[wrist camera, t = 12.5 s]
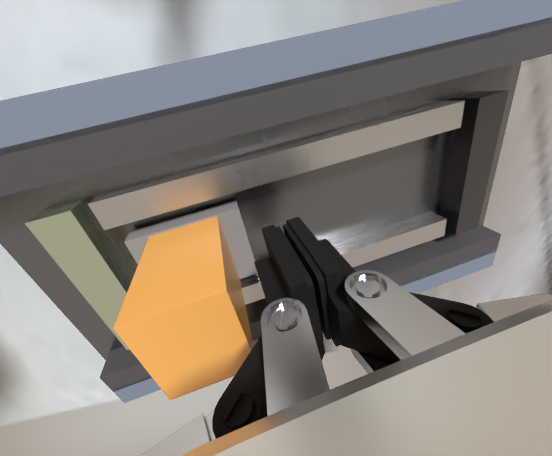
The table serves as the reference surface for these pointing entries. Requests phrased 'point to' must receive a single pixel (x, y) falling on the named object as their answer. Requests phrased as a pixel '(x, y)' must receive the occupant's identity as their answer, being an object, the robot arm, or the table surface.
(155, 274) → the lever
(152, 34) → the table surface
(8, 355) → the table surface
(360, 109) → the grey slotted base frame
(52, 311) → the table surface
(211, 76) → the sliding rail tray
